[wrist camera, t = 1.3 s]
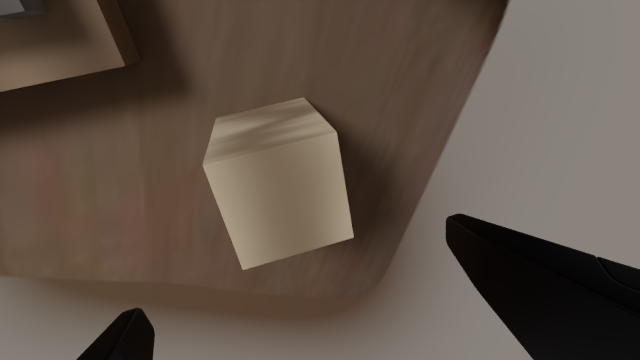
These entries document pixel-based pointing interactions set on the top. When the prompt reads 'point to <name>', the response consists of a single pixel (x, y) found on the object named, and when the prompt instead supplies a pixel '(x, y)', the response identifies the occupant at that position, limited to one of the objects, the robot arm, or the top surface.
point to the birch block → (278, 181)
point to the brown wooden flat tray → (61, 40)
